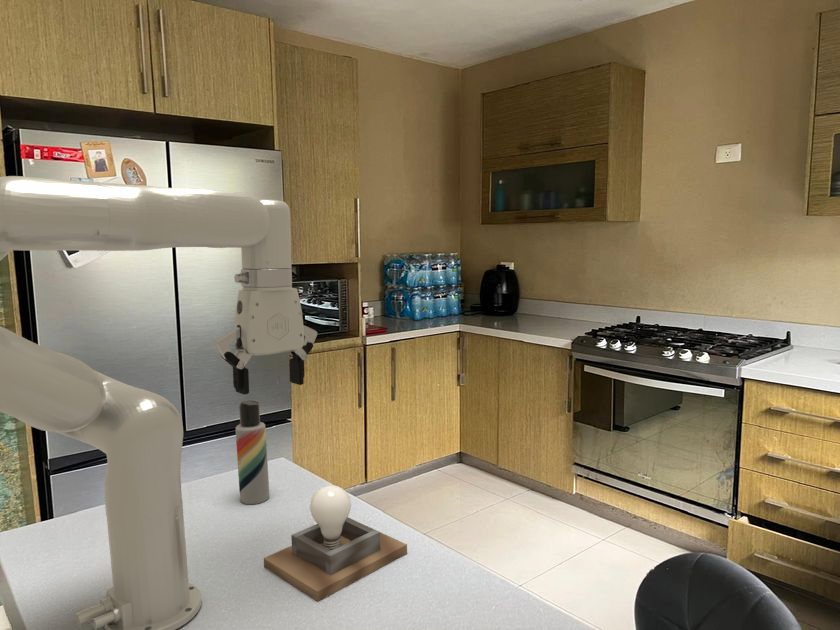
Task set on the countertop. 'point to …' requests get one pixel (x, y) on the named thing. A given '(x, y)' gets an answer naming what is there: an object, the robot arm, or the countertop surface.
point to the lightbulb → (330, 513)
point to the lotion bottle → (252, 455)
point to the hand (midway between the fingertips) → (270, 388)
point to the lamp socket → (333, 558)
